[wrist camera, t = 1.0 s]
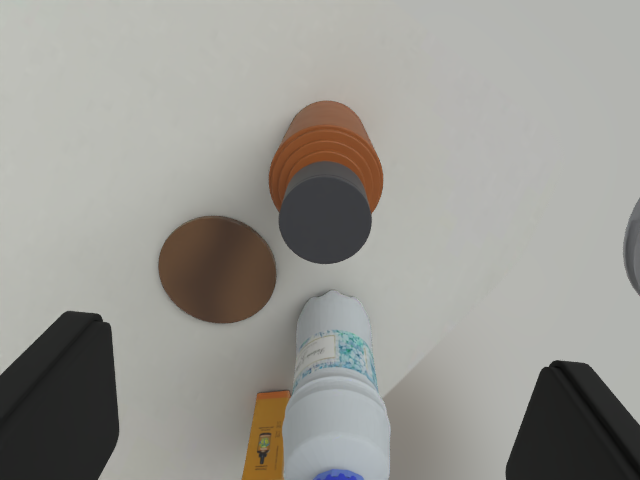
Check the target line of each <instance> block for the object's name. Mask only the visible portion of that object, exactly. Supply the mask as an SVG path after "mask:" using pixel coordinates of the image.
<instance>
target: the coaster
mask: <svg viewBox="0 0 640 480" xmlns="http://www.w3.org/2000/svg"><path fill="white" fill-rule="evenodd" d="M158 267H159V275H160V279H161V282H162V285H163V287H164V289H165V291H166V293H167V294H168V296H169V297H170V298H171V300H172V301H173V302H174V303H175V304H176V305H177V306H178V307H179V308H181V309H182V310H183V311H185V312H186V313H188V314H189V315H191V316H193V317H195V318H198V319H200V320H204V321H207V322H212V323H233V322H238V321H241V320H244V319H246V318H249V317H251V316H252V315H254V314H256V313H257V312H258V311H259V310H261V309H262V308H263V307H264V306H265V305H266V303H267V302H268V300H269V299H270V297H271V295H272V293H273V290H274V287H275V283H276V263H275V259H274V256H273V254H272V252H271V249H270V248H269V246H268V244H267V243H266V242H265V240H264V239H263V238H262V237H261V236H260V235H259V234H258V233H257V232H256V231H255V230H253V229H252V228H251V227H249V226H247V225H246V224H244V223H242V222H239V221H237V220H234V219H231V218H227V217H221V216H204V217H199V218H195V219H193V220H190V221H188V222H186V223H184V224H182V225H181V226H179V227H178V228H177V229H176V230H175V231H174V232H173V233H172V234H171V235H170V236H169V237H168V239H167V240H166V241H165V243H164V245H163V247H162V249H161V252H160V256H159V266H158Z"/></svg>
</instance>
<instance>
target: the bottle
mask: <svg viewBox="0 0 640 480" xmlns="http://www.w3.org/2000/svg"><path fill="white" fill-rule="evenodd" d="M296 351H297V354H296V364H295V373H294V383H293V393H292V396H291V398H290V399H289V402H288V404H287V406H286V410H285V418H284V421H283V426H282V436H283V447H284V468H285V476H286V480H388V479H389V475H390V433H391V428H390V423H389V419H388V417H387V409H386V407H385V403H384V402H383V400H382V398H381V396H380V395H379V393H378V386H377V380H376V373H375V366H374V360H373V353H372V331H371V324H370V320H369V317H368V315H367V313H366V311H365V309H364V307H363V305H362V304H361V302H360V301H359V300H358V299H357V298H355V297H353V296H351V297H348V296H345V295H342V294H340V293H339V292H338V291H336V290H330V291H329V292H327V293H326V294H325V295H323V296H320V297H312V298H311V299H309V300H308V301H307V303H306V304H305V306H304V308H303V310H302V312H301V314H300V316H299V320H298V323H297V331H296Z"/></svg>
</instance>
